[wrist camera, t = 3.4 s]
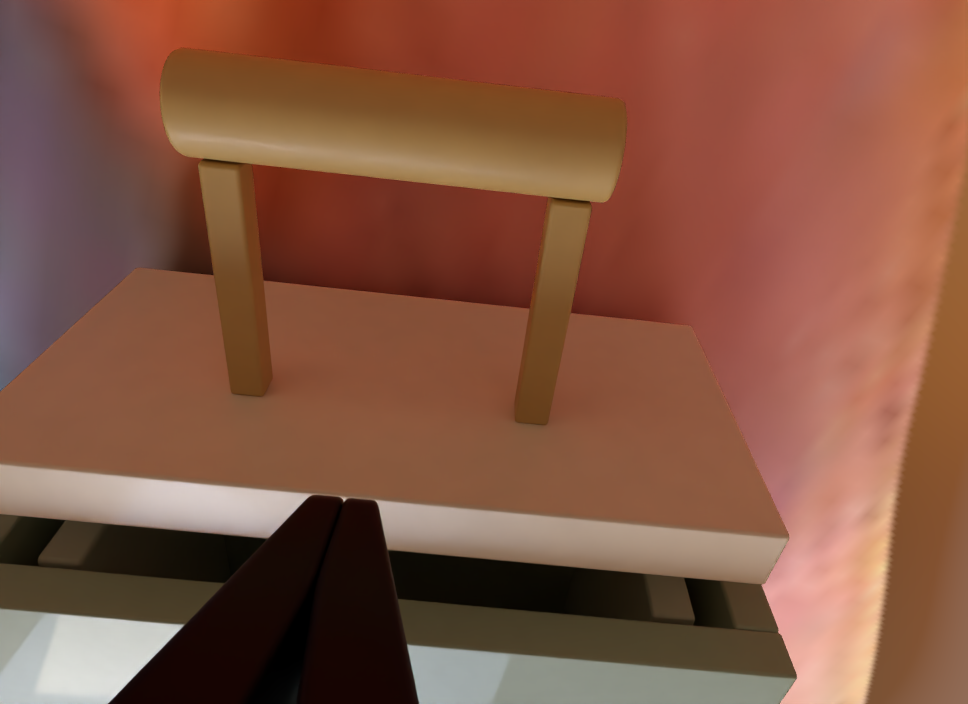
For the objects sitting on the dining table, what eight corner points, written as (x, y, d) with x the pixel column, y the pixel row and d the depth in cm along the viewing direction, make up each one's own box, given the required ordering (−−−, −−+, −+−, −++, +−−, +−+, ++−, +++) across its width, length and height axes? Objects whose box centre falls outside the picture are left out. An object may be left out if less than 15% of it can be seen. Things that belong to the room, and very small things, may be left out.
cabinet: (146, 324, 17) (-104, 598, 10) (683, 379, 17) (799, 678, 10) (217, 648, 25) (107, 921, 18) (580, 680, 25) (608, 958, 18)
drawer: (75, -9, 12) (-284, 42, 6) (775, 73, 12) (985, 187, 7) (213, 619, 22) (120, 836, 17) (584, 652, 22) (607, 873, 17)
